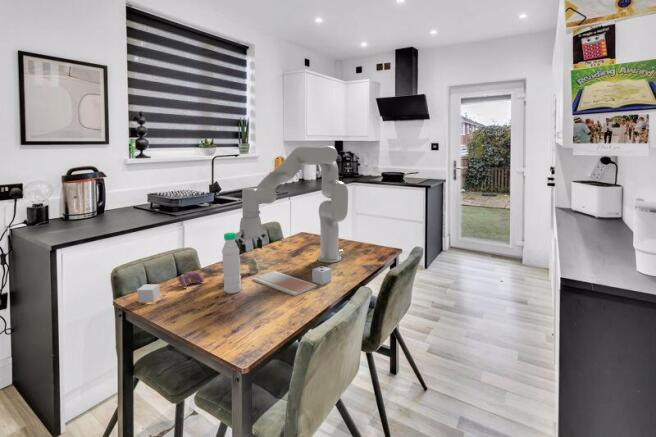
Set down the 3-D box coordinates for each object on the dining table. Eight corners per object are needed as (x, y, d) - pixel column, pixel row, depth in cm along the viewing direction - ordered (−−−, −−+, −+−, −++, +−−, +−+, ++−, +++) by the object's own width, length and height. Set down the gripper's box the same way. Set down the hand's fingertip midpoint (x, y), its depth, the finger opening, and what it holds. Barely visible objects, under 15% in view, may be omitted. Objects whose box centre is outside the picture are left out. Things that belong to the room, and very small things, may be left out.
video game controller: (200, 284, 176) (195, 270, 176) (205, 282, 173) (200, 267, 173) (180, 291, 168) (175, 275, 169) (185, 289, 165) (180, 273, 166)
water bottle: (224, 294, 160) (220, 236, 155) (224, 288, 167) (220, 232, 162) (241, 293, 162) (239, 234, 157) (240, 286, 169) (238, 230, 164)
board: (274, 272, 186) (274, 270, 186) (316, 286, 168) (316, 284, 168) (252, 280, 177) (252, 277, 176) (295, 295, 159) (295, 293, 159)
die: (321, 278, 179) (321, 265, 178) (331, 281, 175) (331, 268, 174) (312, 281, 175) (312, 268, 174) (322, 285, 171) (322, 271, 170)
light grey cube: (160, 298, 157) (159, 284, 156) (154, 304, 151) (152, 289, 150) (145, 298, 157) (144, 284, 156) (138, 304, 151) (137, 289, 150)
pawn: (254, 270, 190) (253, 256, 188) (260, 272, 187) (259, 258, 185) (247, 273, 186) (246, 259, 185) (252, 275, 183) (252, 260, 182)
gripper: (260, 211, 190) (260, 245, 193) (230, 215, 177) (231, 252, 180) (270, 213, 185) (270, 248, 188) (240, 218, 172) (241, 255, 175)
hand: (251, 250), depth 184 cm, fingers open, 9 cm apart
